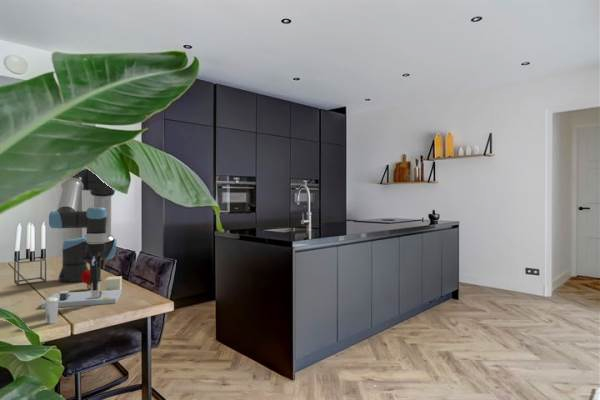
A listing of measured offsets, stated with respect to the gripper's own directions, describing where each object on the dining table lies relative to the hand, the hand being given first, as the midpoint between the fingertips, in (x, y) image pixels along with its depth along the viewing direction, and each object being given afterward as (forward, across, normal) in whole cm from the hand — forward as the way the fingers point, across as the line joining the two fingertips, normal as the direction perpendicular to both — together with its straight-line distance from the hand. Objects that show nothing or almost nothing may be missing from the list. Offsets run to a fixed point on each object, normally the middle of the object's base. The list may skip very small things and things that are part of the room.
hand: (95, 297), depth 156 cm
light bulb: (+4, -30, -8) cm, 31 cm away
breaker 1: (+1, -5, -13) cm, 14 cm away
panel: (+3, -8, -6) cm, 11 cm away
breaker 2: (+1, -5, 0) cm, 5 cm away
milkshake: (+3, +21, -10) cm, 24 cm away
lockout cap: (+3, -22, +4) cm, 22 cm away
